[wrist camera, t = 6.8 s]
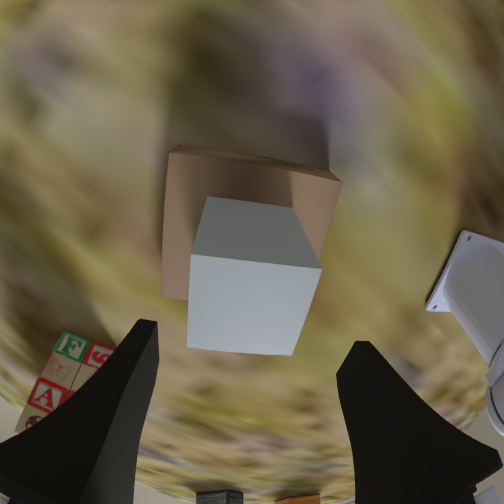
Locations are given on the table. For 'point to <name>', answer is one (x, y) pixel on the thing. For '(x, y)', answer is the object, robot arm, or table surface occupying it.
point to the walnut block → (238, 188)
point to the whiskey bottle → (301, 500)
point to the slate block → (249, 278)
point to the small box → (219, 497)
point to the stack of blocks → (62, 376)
